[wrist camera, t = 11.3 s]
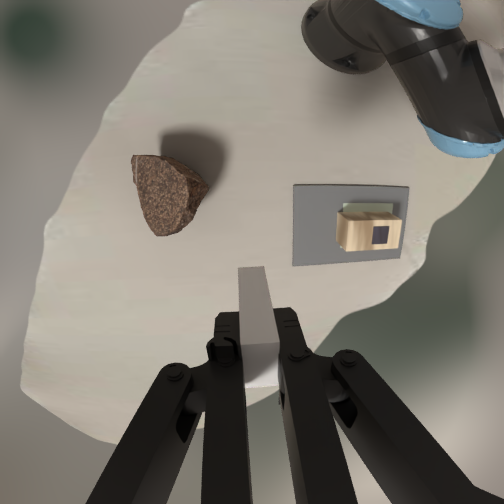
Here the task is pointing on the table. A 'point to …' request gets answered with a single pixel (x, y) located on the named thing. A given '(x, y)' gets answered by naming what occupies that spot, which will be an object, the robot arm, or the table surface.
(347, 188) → the rubber mat
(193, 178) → the rock
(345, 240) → the beech block
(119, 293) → the table surface
